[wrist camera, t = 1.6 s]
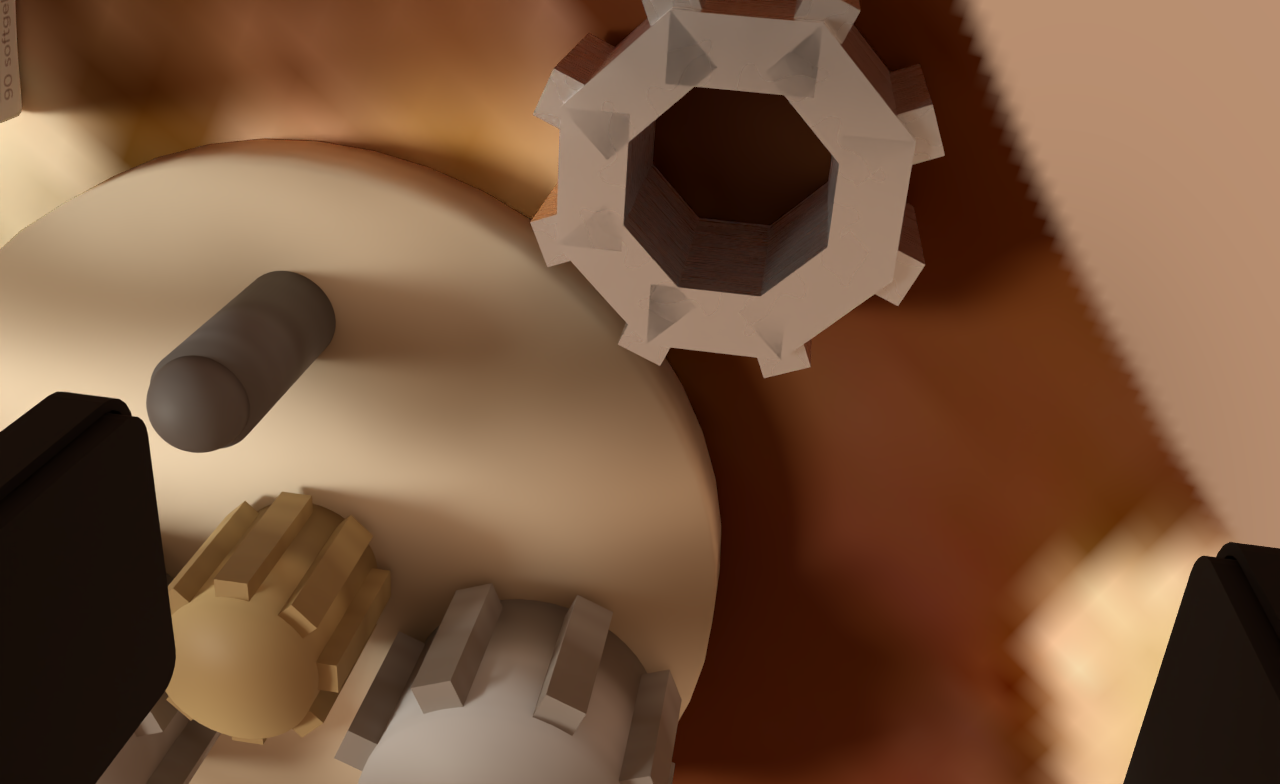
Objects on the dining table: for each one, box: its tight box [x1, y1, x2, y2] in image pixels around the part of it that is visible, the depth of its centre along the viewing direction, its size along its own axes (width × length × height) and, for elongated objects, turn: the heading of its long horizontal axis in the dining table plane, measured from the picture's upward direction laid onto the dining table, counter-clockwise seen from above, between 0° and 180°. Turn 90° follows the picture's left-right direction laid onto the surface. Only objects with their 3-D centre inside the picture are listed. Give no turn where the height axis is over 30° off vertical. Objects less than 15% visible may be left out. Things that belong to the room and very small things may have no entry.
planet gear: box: [530, 0, 945, 378], centre depth 23 cm, size 7×7×4 cm
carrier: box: [0, 139, 721, 784], centre depth 27 cm, size 19×19×7 cm
